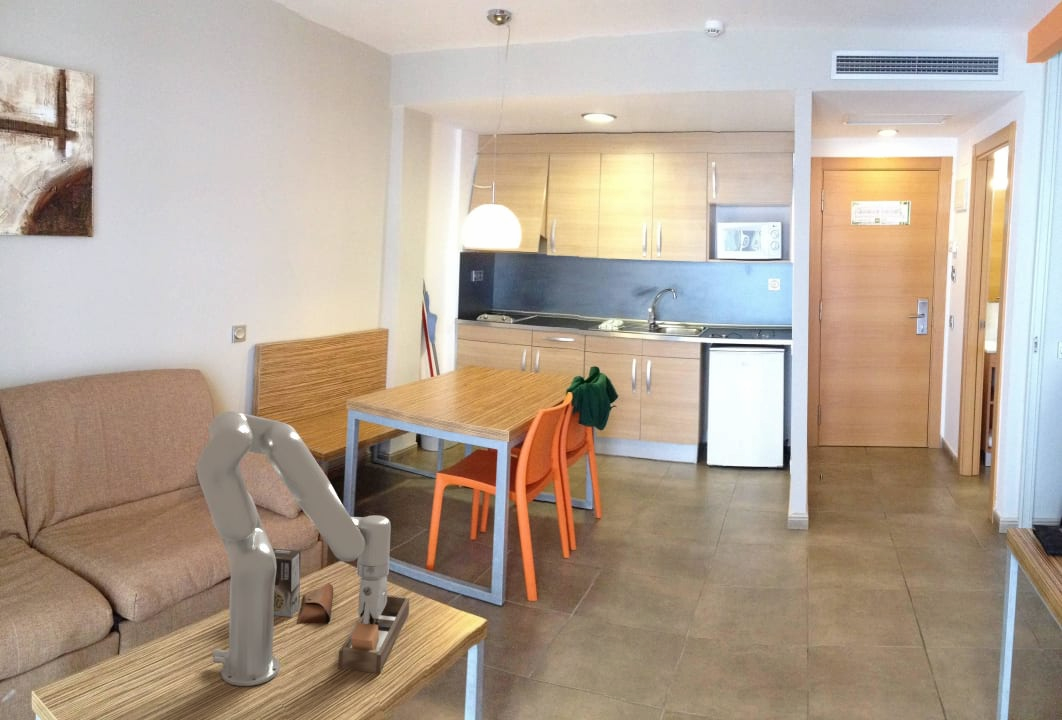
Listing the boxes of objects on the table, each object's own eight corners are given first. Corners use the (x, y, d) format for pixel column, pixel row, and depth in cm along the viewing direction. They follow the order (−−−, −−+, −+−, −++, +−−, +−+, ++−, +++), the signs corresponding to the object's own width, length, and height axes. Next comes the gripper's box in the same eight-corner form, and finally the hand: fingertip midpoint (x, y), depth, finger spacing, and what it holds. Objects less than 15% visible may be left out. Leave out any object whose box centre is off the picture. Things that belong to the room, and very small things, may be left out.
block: (352, 653, 189) (351, 638, 187) (358, 637, 193) (357, 622, 191) (373, 656, 188) (371, 640, 186) (378, 639, 193) (377, 624, 191)
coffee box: (300, 607, 215) (302, 550, 213) (290, 618, 209) (292, 559, 207) (268, 603, 216) (269, 547, 214) (257, 614, 210) (258, 556, 208)
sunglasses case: (302, 593, 223) (315, 574, 223) (323, 604, 225) (336, 585, 225) (296, 624, 206) (311, 603, 206) (320, 636, 208) (334, 615, 207)
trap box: (338, 668, 187) (339, 648, 186) (372, 610, 216) (373, 593, 215) (380, 673, 186) (381, 653, 185) (408, 614, 216) (409, 596, 215)
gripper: (380, 581, 184) (377, 655, 187) (395, 556, 199) (392, 625, 202) (349, 578, 185) (346, 652, 187) (366, 554, 199) (363, 622, 202)
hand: (370, 638), depth 195 cm, fingers closed
